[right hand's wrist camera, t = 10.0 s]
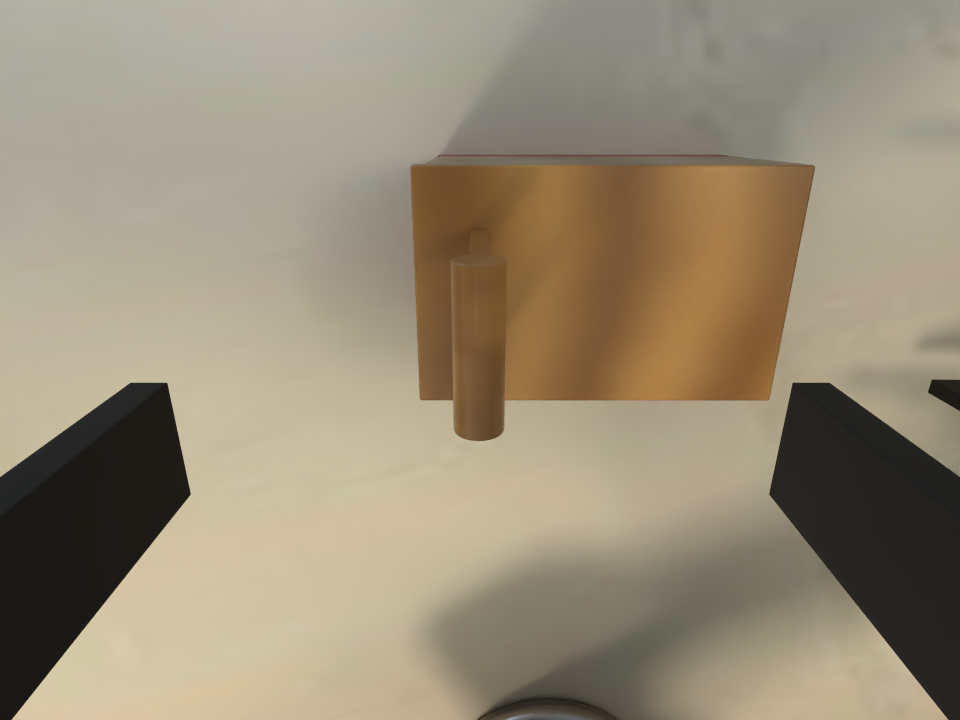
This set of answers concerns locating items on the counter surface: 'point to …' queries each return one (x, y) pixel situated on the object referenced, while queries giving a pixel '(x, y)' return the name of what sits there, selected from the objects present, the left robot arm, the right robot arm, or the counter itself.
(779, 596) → the counter surface
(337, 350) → the counter surface
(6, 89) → the counter surface
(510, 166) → the lid
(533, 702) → the left robot arm
